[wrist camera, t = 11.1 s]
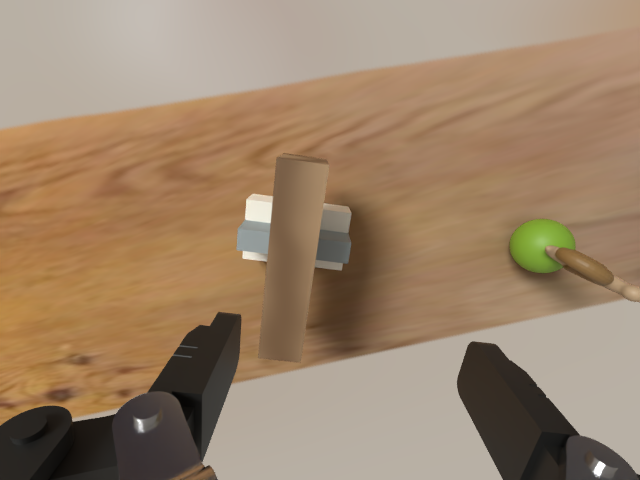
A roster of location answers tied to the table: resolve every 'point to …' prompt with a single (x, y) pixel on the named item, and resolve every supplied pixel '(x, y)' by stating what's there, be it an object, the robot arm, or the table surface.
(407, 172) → the table surface
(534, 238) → the snail figurine
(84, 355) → the table surface
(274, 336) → the walnut bar
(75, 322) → the table surface
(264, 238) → the white grey stepped block
